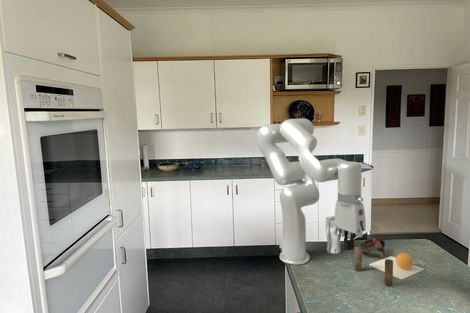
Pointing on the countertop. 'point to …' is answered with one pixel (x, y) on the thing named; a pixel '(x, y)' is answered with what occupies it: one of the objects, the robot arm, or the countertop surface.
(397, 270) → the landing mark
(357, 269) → the post left
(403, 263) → the ball
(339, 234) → the beer glass
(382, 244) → the reddish brown arched figurine
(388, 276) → the post right
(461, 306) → the countertop surface
